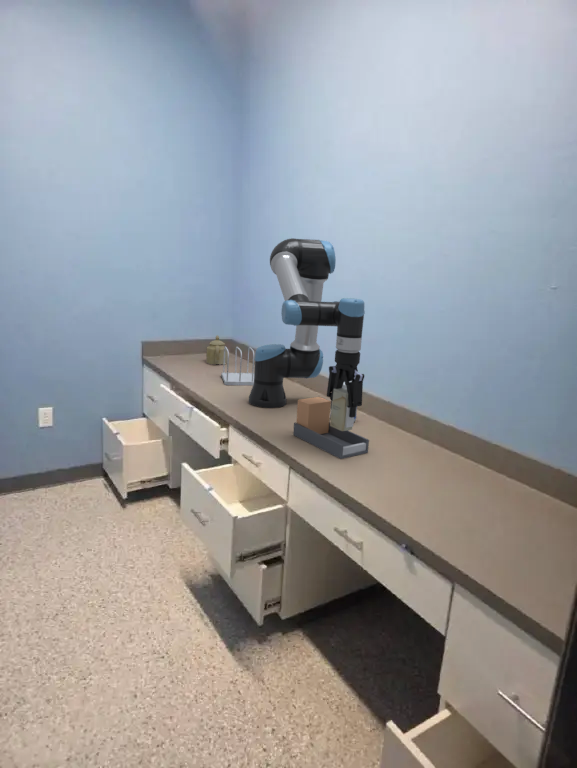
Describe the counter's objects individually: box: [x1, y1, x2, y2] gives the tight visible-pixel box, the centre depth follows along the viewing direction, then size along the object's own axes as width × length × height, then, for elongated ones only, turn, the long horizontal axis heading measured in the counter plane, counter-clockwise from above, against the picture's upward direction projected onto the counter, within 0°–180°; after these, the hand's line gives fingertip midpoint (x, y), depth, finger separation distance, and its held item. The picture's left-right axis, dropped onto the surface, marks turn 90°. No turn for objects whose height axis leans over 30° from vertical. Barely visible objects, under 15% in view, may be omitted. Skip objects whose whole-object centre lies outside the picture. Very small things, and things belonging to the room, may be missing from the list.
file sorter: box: [220, 346, 255, 386], centre depth 245 cm, size 25×17×16 cm
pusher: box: [296, 396, 331, 434], centre depth 175 cm, size 6×9×11 cm, turn 126°
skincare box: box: [329, 388, 353, 431], centre depth 163 cm, size 6×4×12 cm
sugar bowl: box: [206, 334, 228, 365], centre depth 278 cm, size 15×11×15 cm
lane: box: [292, 421, 370, 460], centre depth 169 cm, size 24×11×4 cm, turn 36°
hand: (341, 423), depth 164 cm, fingers closed on skincare box, 6 cm apart
